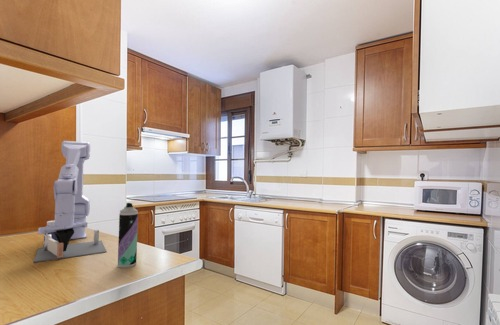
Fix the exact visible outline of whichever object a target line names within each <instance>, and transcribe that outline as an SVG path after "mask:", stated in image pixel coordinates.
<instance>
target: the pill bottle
mask: <svg viewBox="0 0 500 325" xmlns="http://www.w3.org/2000/svg"><path fill="white" fill-rule="evenodd" d="M54 222H55V219H53V220H48V221H46V227H47V226H52V225H54ZM47 234H52V239H54V240H56V241H57V242H58V240H57V238H56V236H55V235H54V232H50V233H44V234H43V247H44V246H45V235H47Z"/></svg>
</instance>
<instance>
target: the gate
mask: <svg viewBox="0 0 500 325" xmlns="http://www.w3.org/2000/svg"><path fill="white" fill-rule="evenodd" d="M47 250H49V251H50V252H52V253H53V254H55V255H56V256H57V258H60V257H63V243H59V242H57V241H56V240H54V239H52V238H48V246H47Z"/></svg>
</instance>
